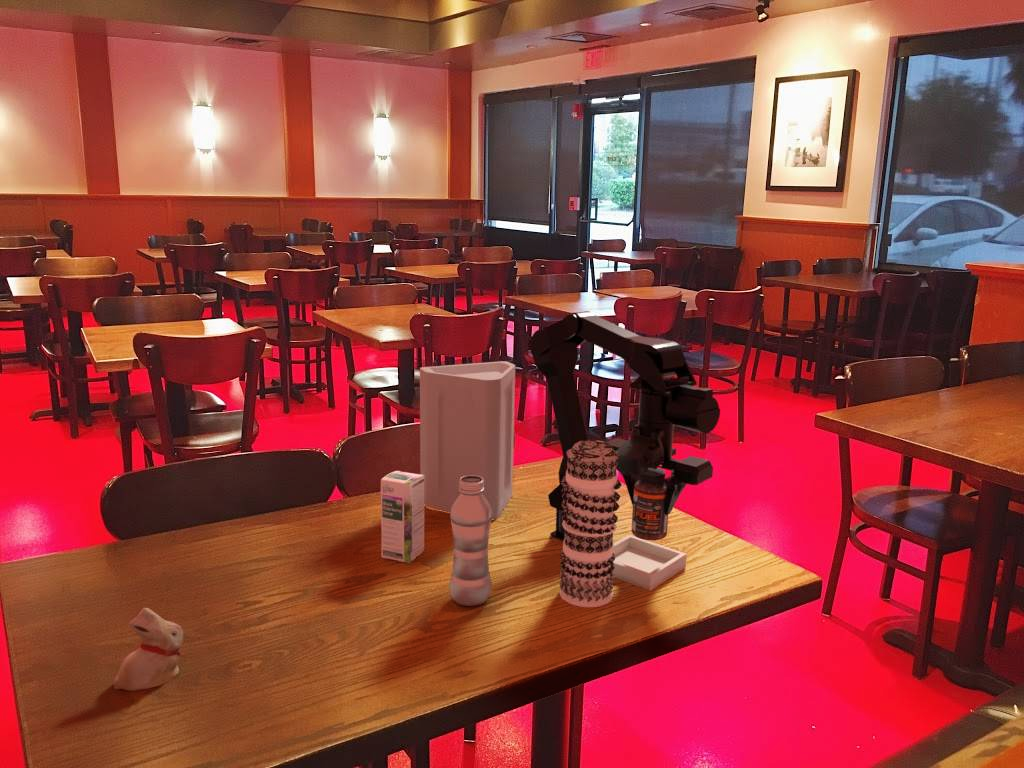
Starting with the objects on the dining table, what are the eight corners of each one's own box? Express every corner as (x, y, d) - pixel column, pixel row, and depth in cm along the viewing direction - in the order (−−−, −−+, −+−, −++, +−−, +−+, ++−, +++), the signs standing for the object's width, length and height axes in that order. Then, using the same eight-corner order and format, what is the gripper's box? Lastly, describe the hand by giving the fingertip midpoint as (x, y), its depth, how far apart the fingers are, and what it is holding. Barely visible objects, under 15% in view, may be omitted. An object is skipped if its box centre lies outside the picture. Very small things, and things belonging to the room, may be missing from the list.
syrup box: (380, 558, 142) (378, 479, 138) (397, 545, 147) (396, 468, 144) (409, 564, 139) (408, 484, 136) (425, 551, 145) (425, 473, 141)
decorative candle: (582, 575, 137) (589, 431, 131) (626, 595, 130) (635, 445, 125) (545, 593, 131) (550, 443, 125) (589, 614, 124) (597, 457, 118)
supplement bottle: (630, 540, 135) (633, 475, 133) (632, 526, 141) (635, 463, 138) (666, 543, 134) (670, 477, 132) (667, 529, 140) (671, 466, 137)
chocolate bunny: (175, 690, 103) (169, 618, 101) (110, 692, 103) (103, 619, 101) (188, 665, 109) (183, 596, 107) (127, 667, 108) (120, 598, 106)
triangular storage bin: (445, 527, 155) (445, 383, 148) (419, 501, 168) (418, 367, 161) (535, 513, 163) (539, 375, 157) (503, 488, 176) (506, 361, 170)
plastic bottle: (497, 594, 130) (499, 475, 125) (481, 614, 123) (483, 489, 119) (459, 587, 132) (460, 469, 127) (442, 607, 125) (442, 483, 121)
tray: (591, 568, 139) (591, 554, 139) (628, 547, 148) (629, 534, 147) (649, 590, 132) (650, 576, 132) (685, 567, 141) (686, 553, 140)
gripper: (580, 417, 133) (576, 508, 136) (682, 441, 121) (675, 539, 125) (618, 405, 141) (614, 491, 145) (717, 426, 129) (710, 519, 133)
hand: (650, 509), depth 136 cm, fingers closed on supplement bottle, 6 cm apart
